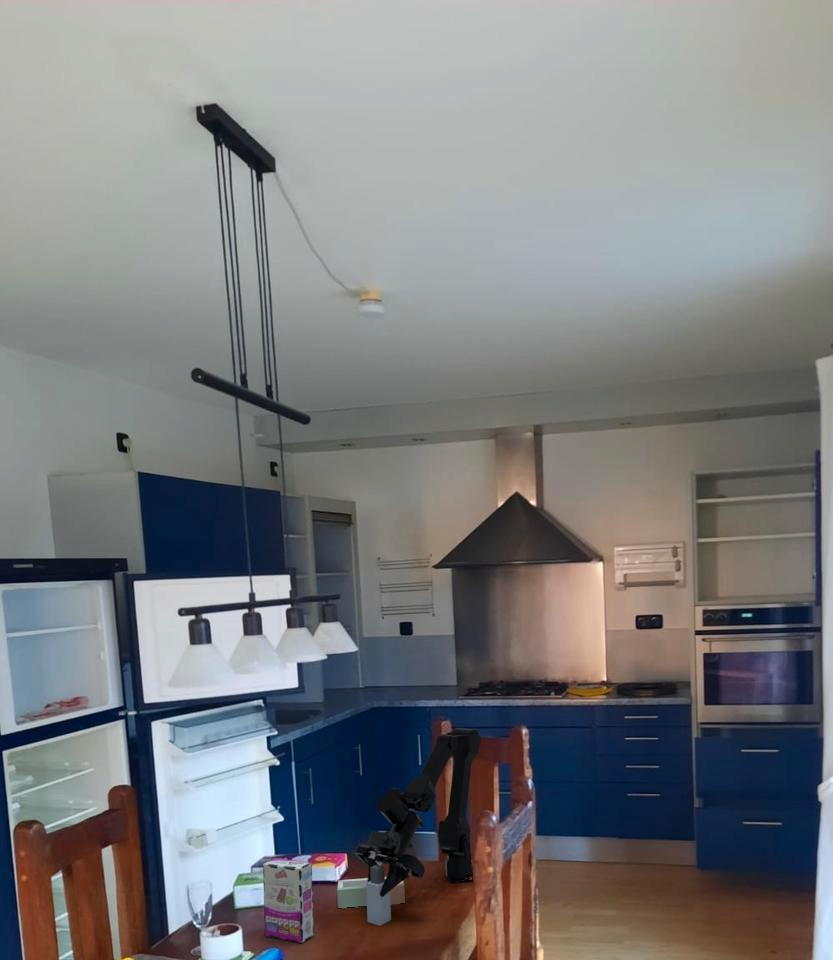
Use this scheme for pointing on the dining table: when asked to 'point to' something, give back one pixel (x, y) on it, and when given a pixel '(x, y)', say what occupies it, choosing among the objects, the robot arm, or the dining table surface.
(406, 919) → the dining table surface
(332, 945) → the dining table surface
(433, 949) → the dining table surface
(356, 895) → the socket block
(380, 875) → the grey capped bottle
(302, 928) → the candy bar box
